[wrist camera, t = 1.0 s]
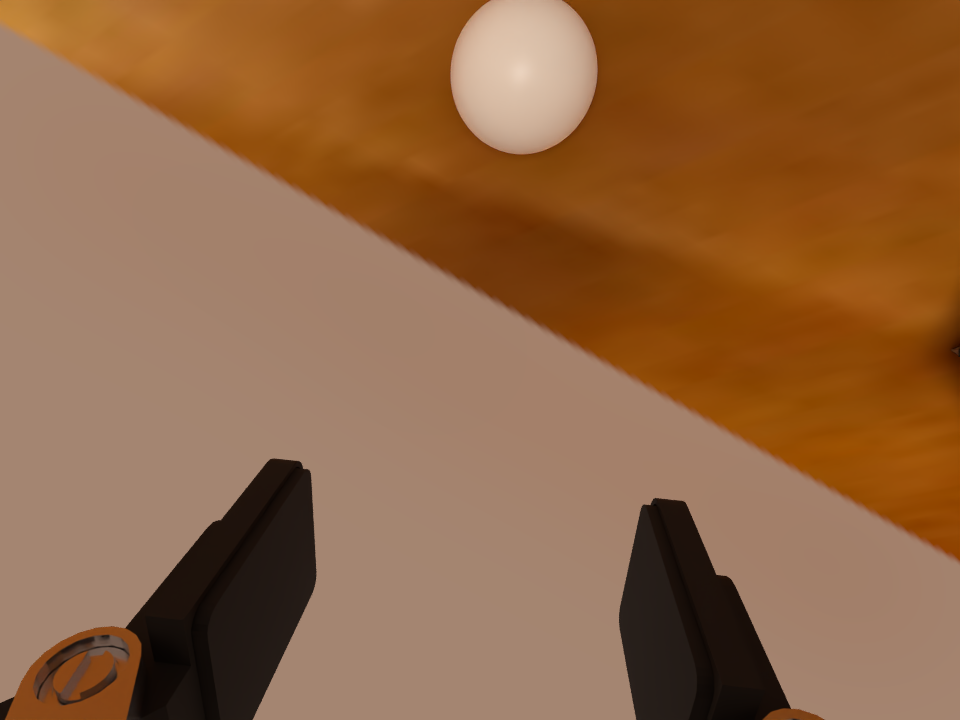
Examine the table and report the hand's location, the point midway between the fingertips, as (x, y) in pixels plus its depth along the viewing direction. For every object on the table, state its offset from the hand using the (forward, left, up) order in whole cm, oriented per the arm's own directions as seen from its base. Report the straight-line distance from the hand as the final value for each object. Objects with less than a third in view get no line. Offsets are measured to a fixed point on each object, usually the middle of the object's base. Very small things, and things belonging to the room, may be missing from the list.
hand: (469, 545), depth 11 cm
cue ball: (0, -10, -15) cm, 18 cm away
